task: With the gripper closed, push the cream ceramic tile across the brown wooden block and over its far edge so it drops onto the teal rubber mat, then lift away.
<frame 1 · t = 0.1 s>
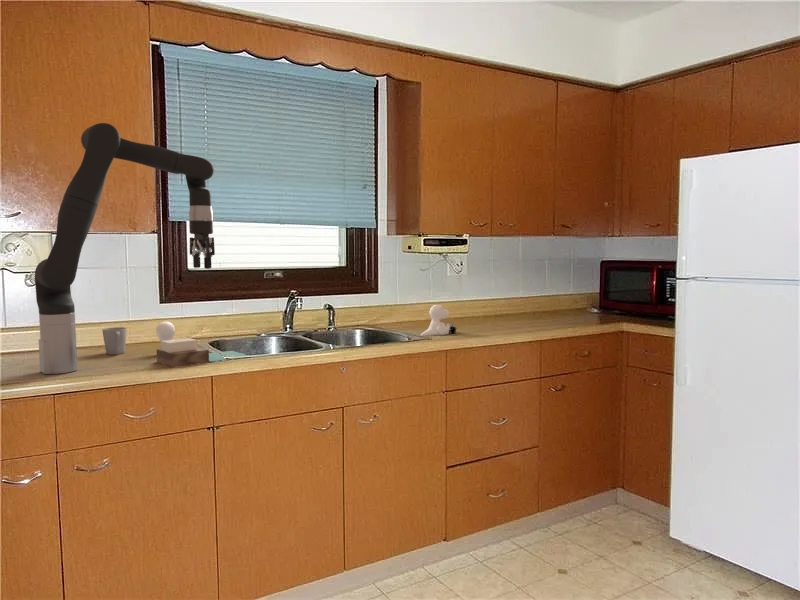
hand: (202, 268, 213), 29 cm above the worktop, tool pointing down, fingers open, 8 cm apart
mat: (221, 357, 209), on the worktop
lightbulb: (166, 354, 216), on the worktop
cup: (116, 354, 216), on the worktop
figurine: (438, 334, 261), on the worktop
brown wooden block: (182, 362, 200), on the worktop
coaster: (179, 349, 199), point 4 cm above the worktop, touching brown wooden block
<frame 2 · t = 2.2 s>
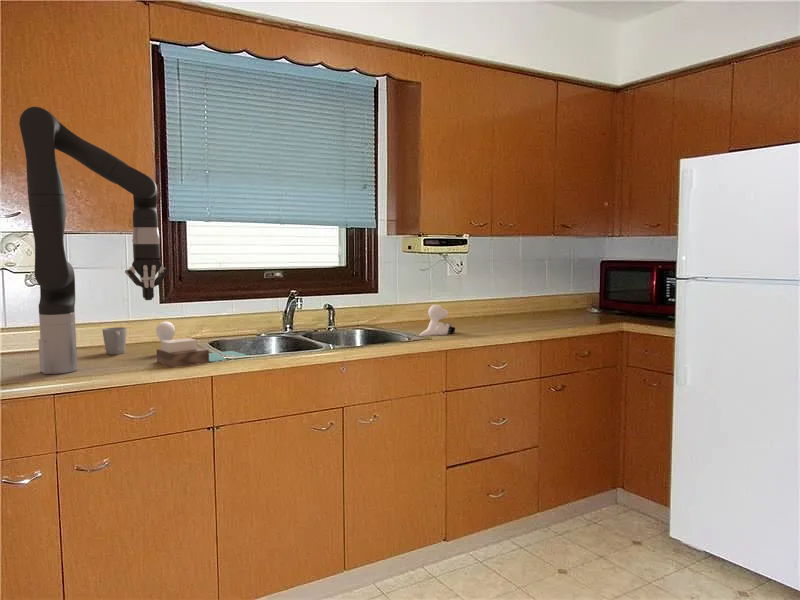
hand: (148, 299, 192), 20 cm above the worktop, tool pointing down, fingers closed
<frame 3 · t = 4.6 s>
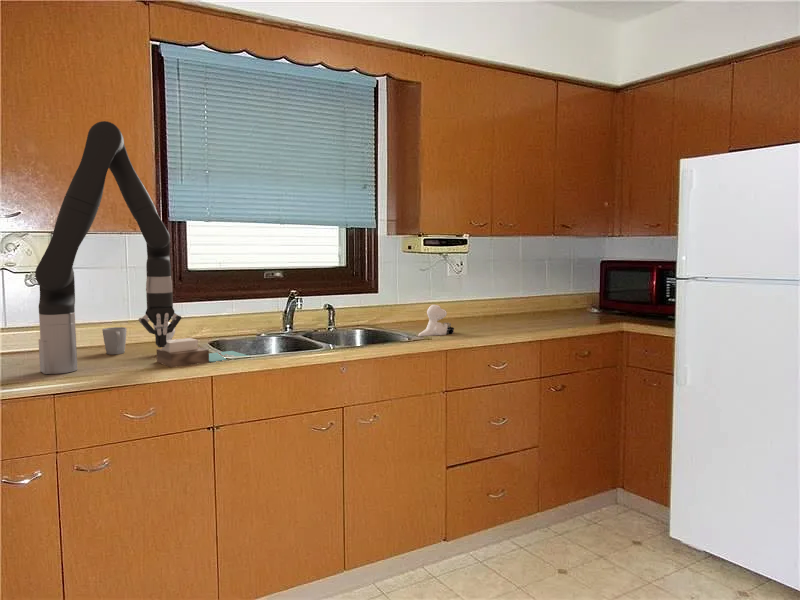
hand: (161, 346, 195), 6 cm above the worktop, tool pointing down, fingers closed
coaster: (180, 349, 200), point 4 cm above the worktop, touching brown wooden block, gripper
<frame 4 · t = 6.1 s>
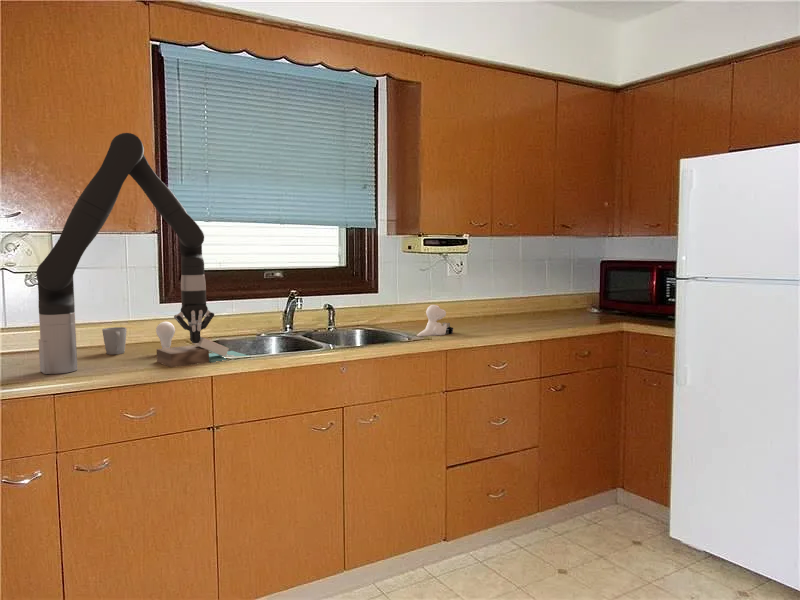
hand: (195, 342, 202), 6 cm above the worktop, tool pointing down, fingers closed
coaster: (209, 351, 205), point 3 cm above the worktop, tilted 27°
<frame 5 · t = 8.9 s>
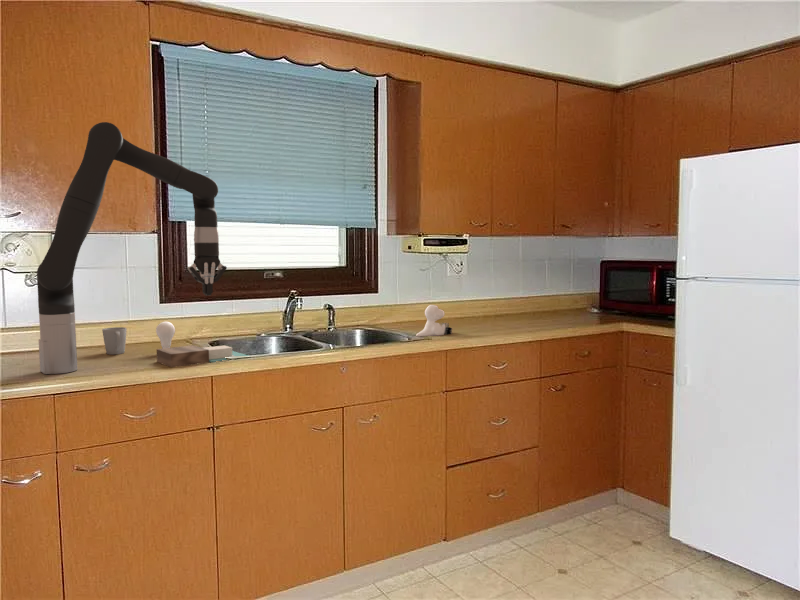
hand: (207, 295, 204), 21 cm above the worktop, tool pointing down, fingers closed
coaster: (215, 357, 207), resting on mat
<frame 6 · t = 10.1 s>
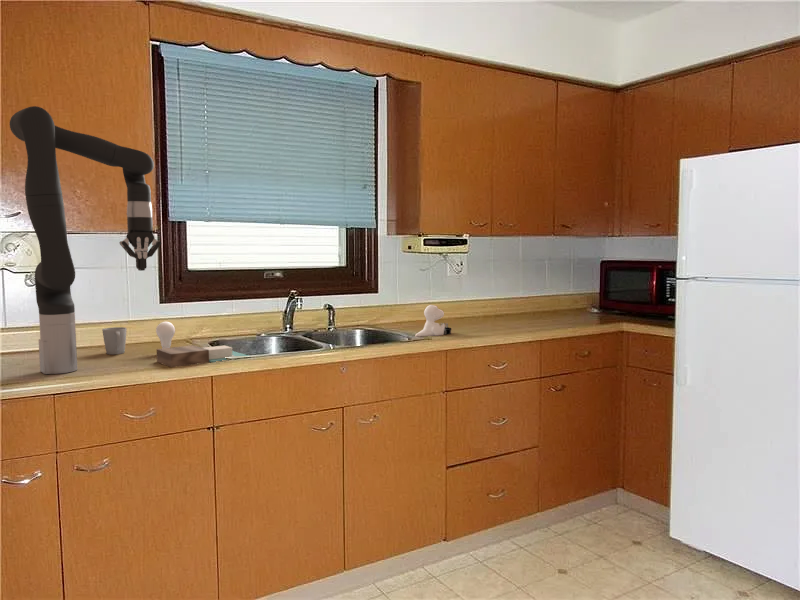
hand: (141, 270, 204), 29 cm above the worktop, tool pointing down, fingers closed
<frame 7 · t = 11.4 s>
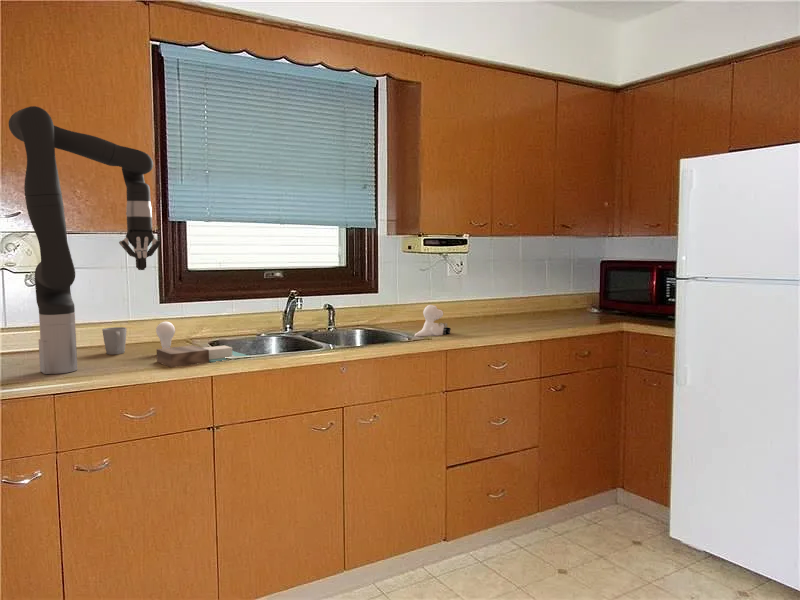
hand: (141, 269, 204), 29 cm above the worktop, tool pointing down, fingers closed
at the end: coaster inside the target area (3.1 cm from its centre), resting on mat; the gripper is holding nothing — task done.
